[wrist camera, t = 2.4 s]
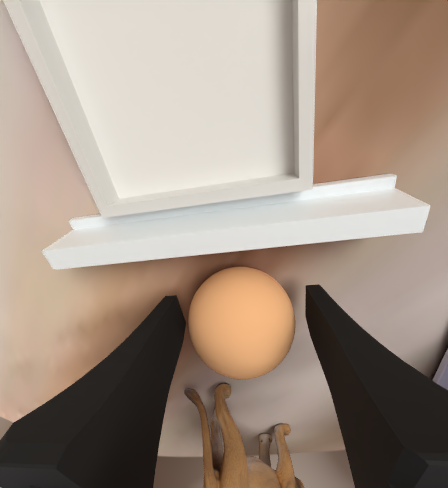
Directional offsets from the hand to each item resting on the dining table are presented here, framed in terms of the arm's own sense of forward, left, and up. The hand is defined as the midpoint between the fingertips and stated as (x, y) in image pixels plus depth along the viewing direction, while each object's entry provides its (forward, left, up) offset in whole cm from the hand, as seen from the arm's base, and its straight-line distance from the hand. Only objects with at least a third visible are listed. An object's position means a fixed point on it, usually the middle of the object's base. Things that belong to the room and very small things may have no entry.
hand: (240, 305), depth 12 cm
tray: (+10, +1, -2) cm, 10 cm away
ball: (0, 0, -2) cm, 2 cm away
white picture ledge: (+4, +1, -2) cm, 5 cm away
